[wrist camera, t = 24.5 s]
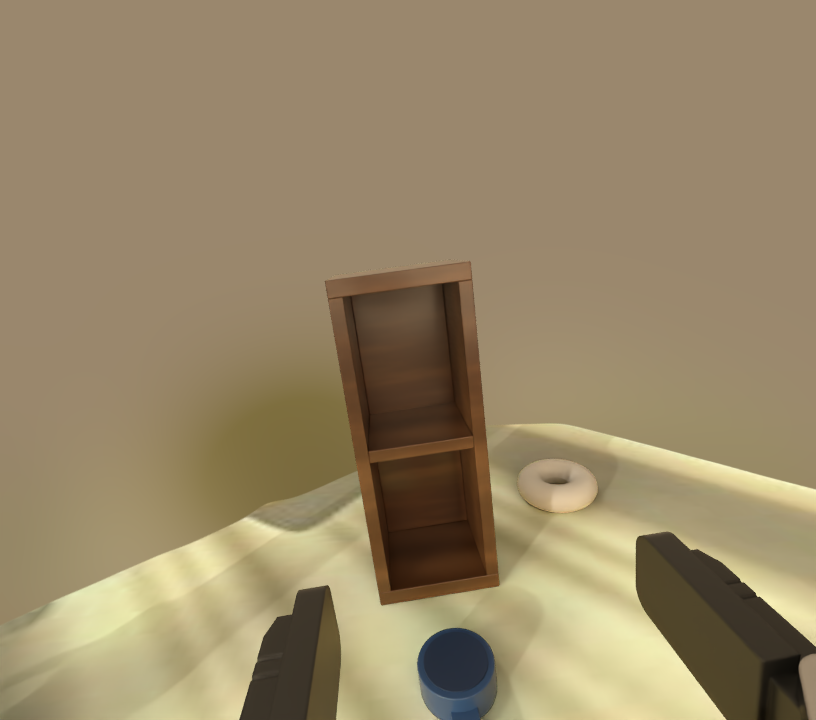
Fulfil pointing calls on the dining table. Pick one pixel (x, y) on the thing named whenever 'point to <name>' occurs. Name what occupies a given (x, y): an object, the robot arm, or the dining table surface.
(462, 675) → the blue elongated piece
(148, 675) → the dining table surface
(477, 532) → the shelf
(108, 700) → the dining table surface
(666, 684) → the dining table surface
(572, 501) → the donut
